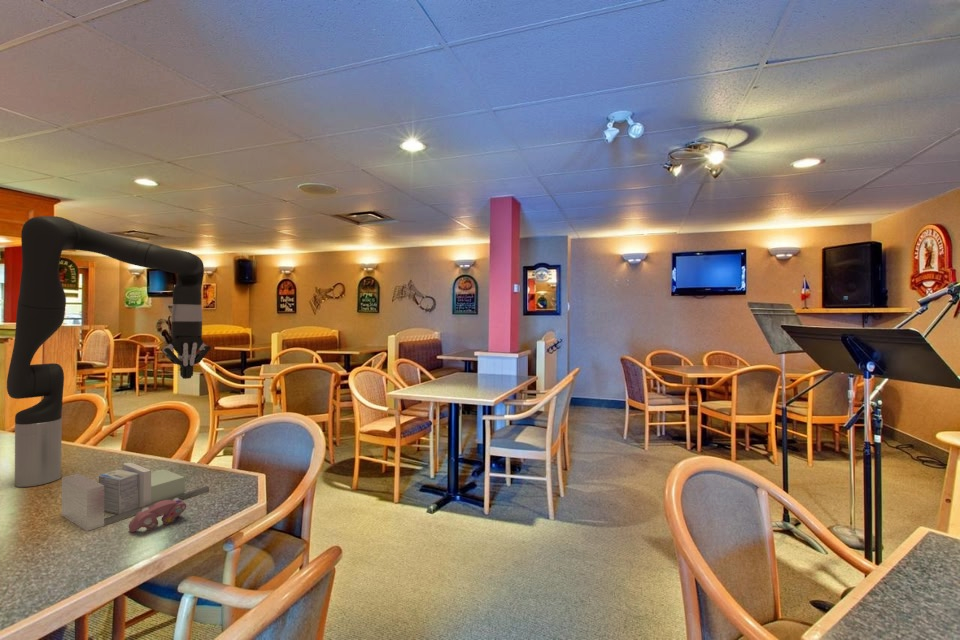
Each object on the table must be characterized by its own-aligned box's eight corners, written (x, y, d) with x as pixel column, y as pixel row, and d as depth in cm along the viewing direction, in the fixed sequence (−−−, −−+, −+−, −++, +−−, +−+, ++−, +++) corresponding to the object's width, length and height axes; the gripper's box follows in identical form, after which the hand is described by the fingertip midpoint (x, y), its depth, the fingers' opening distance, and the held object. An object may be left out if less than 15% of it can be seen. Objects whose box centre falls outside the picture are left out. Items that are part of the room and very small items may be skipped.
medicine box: (139, 508, 105) (139, 472, 105) (118, 516, 101) (119, 479, 101) (119, 503, 108) (119, 468, 108) (98, 510, 104) (98, 474, 104)
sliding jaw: (122, 499, 110) (122, 463, 110) (162, 487, 118) (162, 454, 118) (143, 509, 104) (144, 472, 104) (184, 496, 112) (184, 461, 112)
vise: (61, 515, 101) (61, 477, 101) (181, 480, 123) (181, 449, 123) (86, 531, 94) (87, 490, 94) (209, 491, 116) (209, 457, 116)
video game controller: (133, 543, 92) (140, 517, 90) (125, 528, 94) (132, 503, 92) (184, 524, 100) (191, 500, 99) (175, 511, 102) (182, 488, 101)
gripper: (203, 319, 135) (203, 374, 135) (155, 319, 123) (154, 379, 123) (217, 320, 131) (216, 376, 131) (168, 320, 120) (167, 382, 120)
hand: (186, 378), depth 127 cm, fingers closed
